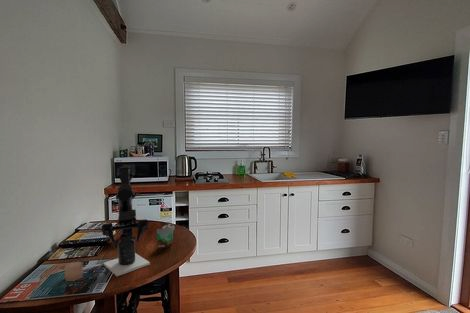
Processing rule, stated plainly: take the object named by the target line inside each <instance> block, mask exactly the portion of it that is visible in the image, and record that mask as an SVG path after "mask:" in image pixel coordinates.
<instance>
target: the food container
mask: <svg viewBox="0 0 470 313" xmlns="http://www.w3.org/2000/svg"><path fill="white" fill-rule="evenodd" d="M174 230H175V225H174V223H173V222H169V221H167V222H166V224H165V225H163V226H161V227H160V228H156V235H157V249H167V248H170V247H172V246H173V244H174V243H173V240H174V238H173V237H174Z"/></svg>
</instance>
